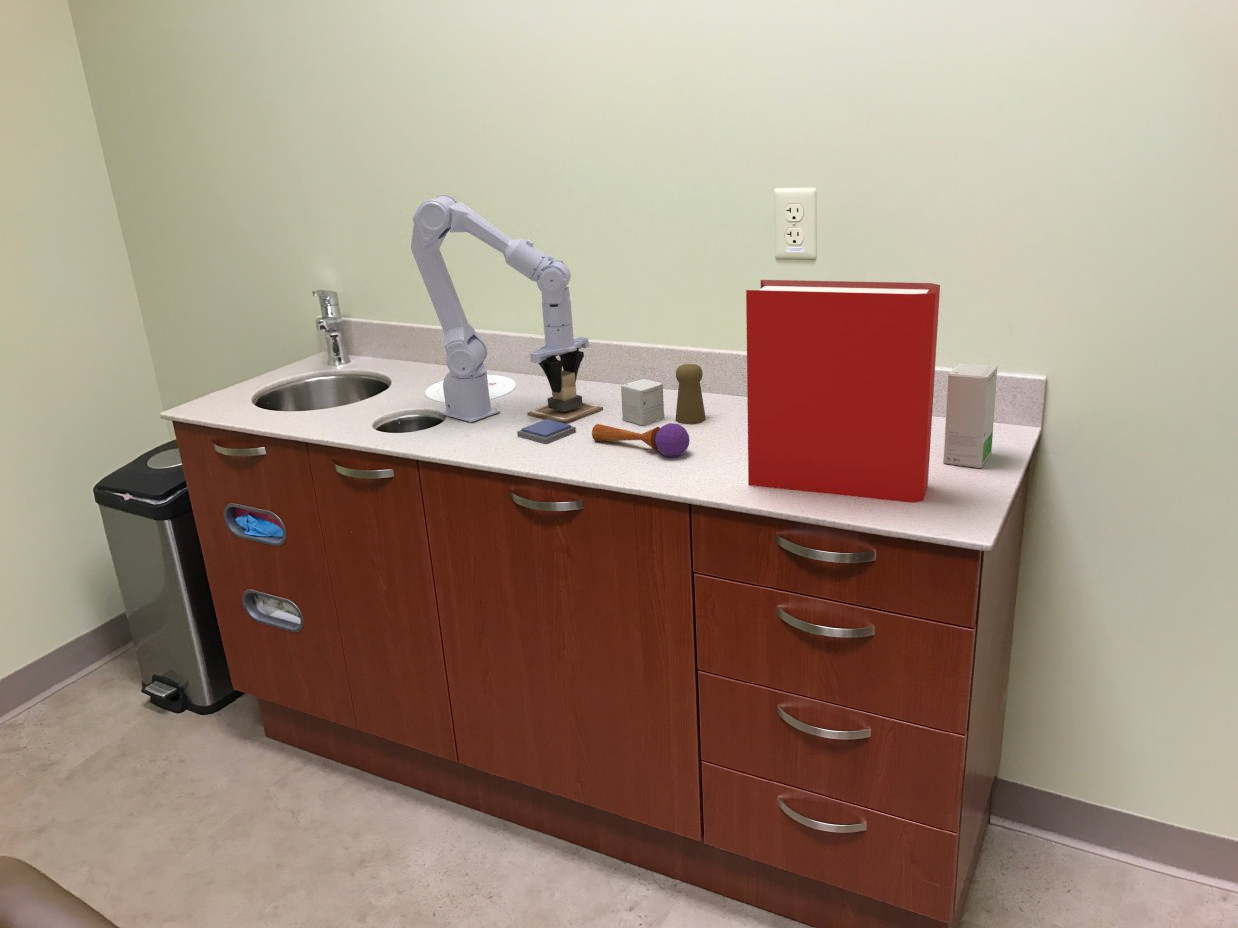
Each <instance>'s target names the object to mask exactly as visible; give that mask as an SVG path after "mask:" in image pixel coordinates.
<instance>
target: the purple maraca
mask: <svg viewBox="0 0 1238 928" xmlns="http://www.w3.org/2000/svg"><path fill="white" fill-rule="evenodd" d="M591 436H592V439H593V441H595V442H618V441H620V442H621V441H623V442H625V441H642V442H643V443H644V444H646V445H647V446H649V447H650V448H652V450H654V451H659V452H660V453H661V454H663V455H664V456H666V457H670V458H671V457H672V458H673V457H675V458H677V457H678V456H682V454H684V453H685V452H686V451H687V449H688V448H689V447H690V446H689V445H690V435H689V433H688V431H687V428H685V427H684V426H683V425H682V424H680V423H674V422H673V423H672V422H670V423H667V424H664V425H662V426H656V427H654V428H652V429H649V430H647V431H645V432H642V433H639V432H635V431H630V430H626V429H622V428H617V427H614V426H609V425H605V424H601V423H596V424H594V426H593V427H592V430H591Z"/></svg>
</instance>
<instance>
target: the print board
mask: <svg viewBox="0 0 1238 928" xmlns="http://www.w3.org/2000/svg"><path fill="white" fill-rule="evenodd" d="M582 404H583V405H582V406H579V407H577V408H574V409H571V410H569V411H566V412H564V411H560V410H555V409H551V408H548V404H547V405H544V406H542V407H539V408H536V409H534V410H530V411H528V412H527V413H526V414H527V416H530V417H533V418H538V419H541V420H545V419H549V420H553V421H557V422H561V423H565V424H570V423H573V422H575V421H578V420H580V419H582V418H586V417H588V416H591V415H594V414H596V413H598V412H602V411H603V410H604V407H603V406H600V405H596V404H592V403H587V402H583V401H582Z"/></svg>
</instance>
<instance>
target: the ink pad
mask: <svg viewBox="0 0 1238 928" xmlns="http://www.w3.org/2000/svg"><path fill="white" fill-rule="evenodd" d="M576 432H577V428H576V426H572V424H570V423H568V424H565V423H561V422H557V421H553V420H549V419H542V420H541V421H538V422H535V423H532V424H530V425H528V426H525V427H522V428H521V429H520V430H518V431H517V433H516V434H517V437H518V438H519V437H520V438H523V439H527V440H528V441H529V440H530V441H533V442H536V443H540V444H544V445H548V444H551V443H553V442H556V441H557V440H560V439H562V438H565V437H567V436H570V435H573V434H575V433H576Z"/></svg>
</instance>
